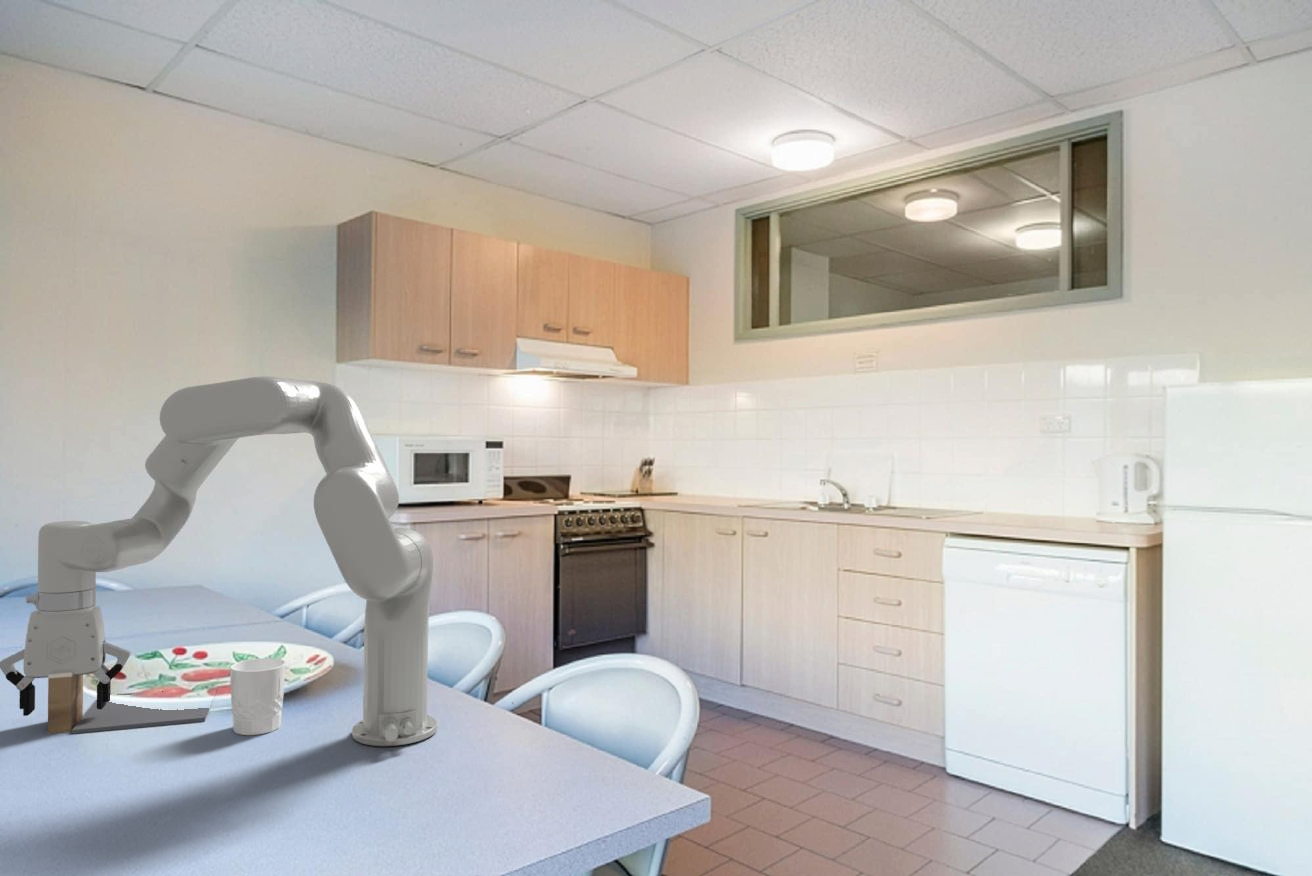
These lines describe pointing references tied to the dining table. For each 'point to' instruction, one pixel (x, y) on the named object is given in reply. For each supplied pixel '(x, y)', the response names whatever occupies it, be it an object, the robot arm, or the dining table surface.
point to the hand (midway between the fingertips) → (65, 709)
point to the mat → (134, 717)
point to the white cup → (257, 695)
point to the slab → (64, 701)
